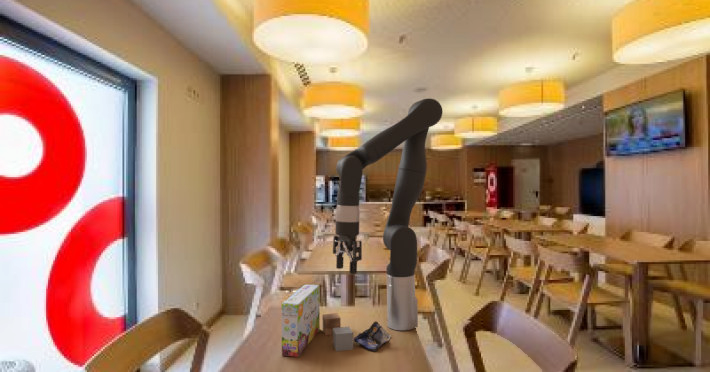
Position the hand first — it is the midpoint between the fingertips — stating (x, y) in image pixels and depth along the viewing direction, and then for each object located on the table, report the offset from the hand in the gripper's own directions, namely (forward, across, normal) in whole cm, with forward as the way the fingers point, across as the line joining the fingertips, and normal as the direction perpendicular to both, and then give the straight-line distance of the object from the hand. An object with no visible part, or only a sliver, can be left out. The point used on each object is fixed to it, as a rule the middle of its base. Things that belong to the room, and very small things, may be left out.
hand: (346, 271), depth 137 cm
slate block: (+20, -9, +5) cm, 23 cm away
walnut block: (+20, +4, +2) cm, 21 cm away
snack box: (+21, +1, +14) cm, 25 cm away
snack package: (+20, -12, -4) cm, 24 cm away
